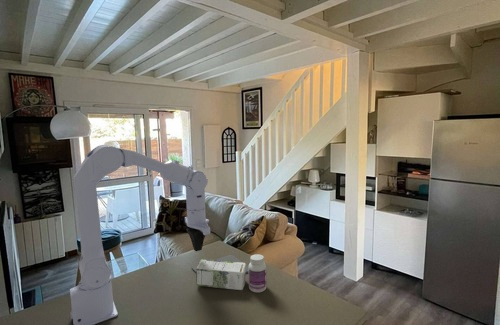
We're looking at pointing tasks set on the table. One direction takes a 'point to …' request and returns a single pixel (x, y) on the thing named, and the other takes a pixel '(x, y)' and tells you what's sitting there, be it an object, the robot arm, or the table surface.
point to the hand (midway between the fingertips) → (197, 249)
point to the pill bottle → (257, 273)
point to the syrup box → (221, 274)
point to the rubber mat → (226, 258)
